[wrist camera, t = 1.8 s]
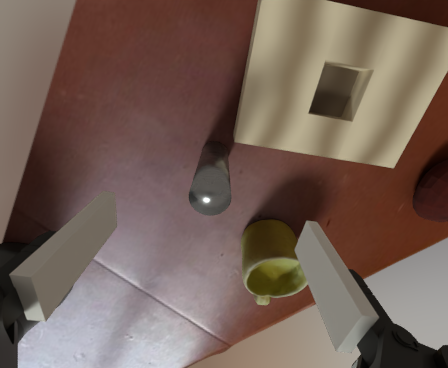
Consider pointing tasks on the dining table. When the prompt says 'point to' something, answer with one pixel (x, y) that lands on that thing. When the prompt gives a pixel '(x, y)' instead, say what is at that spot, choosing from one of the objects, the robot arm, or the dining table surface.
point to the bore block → (338, 80)
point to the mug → (271, 261)
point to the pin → (211, 181)
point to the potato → (433, 194)
